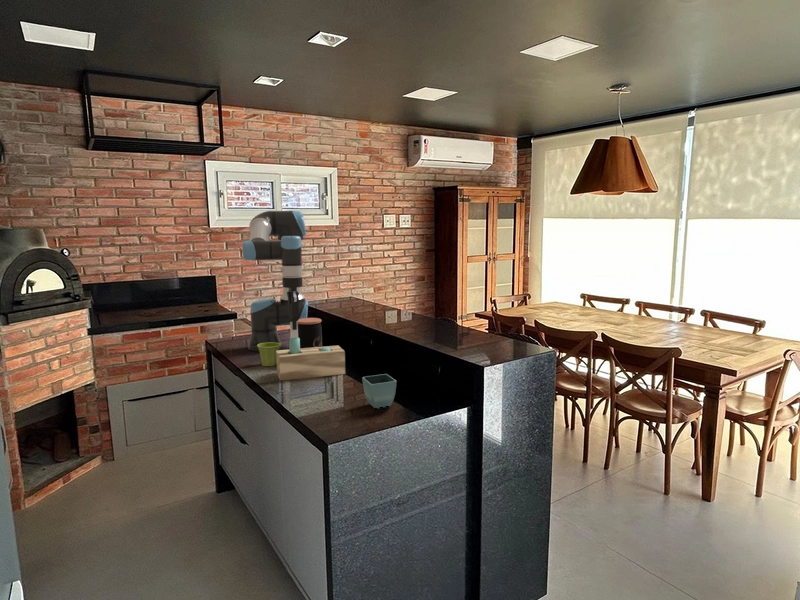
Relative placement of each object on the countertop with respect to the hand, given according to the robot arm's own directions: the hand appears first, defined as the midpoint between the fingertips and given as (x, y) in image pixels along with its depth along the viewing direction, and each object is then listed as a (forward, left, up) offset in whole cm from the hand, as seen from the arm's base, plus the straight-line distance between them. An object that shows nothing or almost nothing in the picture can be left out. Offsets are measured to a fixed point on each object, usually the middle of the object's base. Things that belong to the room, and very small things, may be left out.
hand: (294, 337), depth 198 cm
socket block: (0, +6, -15) cm, 16 cm away
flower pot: (+45, +20, -15) cm, 51 cm away
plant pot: (-19, -8, -15) cm, 26 cm away
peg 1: (0, 0, -9) cm, 9 cm away
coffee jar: (-19, +9, -15) cm, 26 cm away
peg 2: (0, +12, -14) cm, 19 cm away
